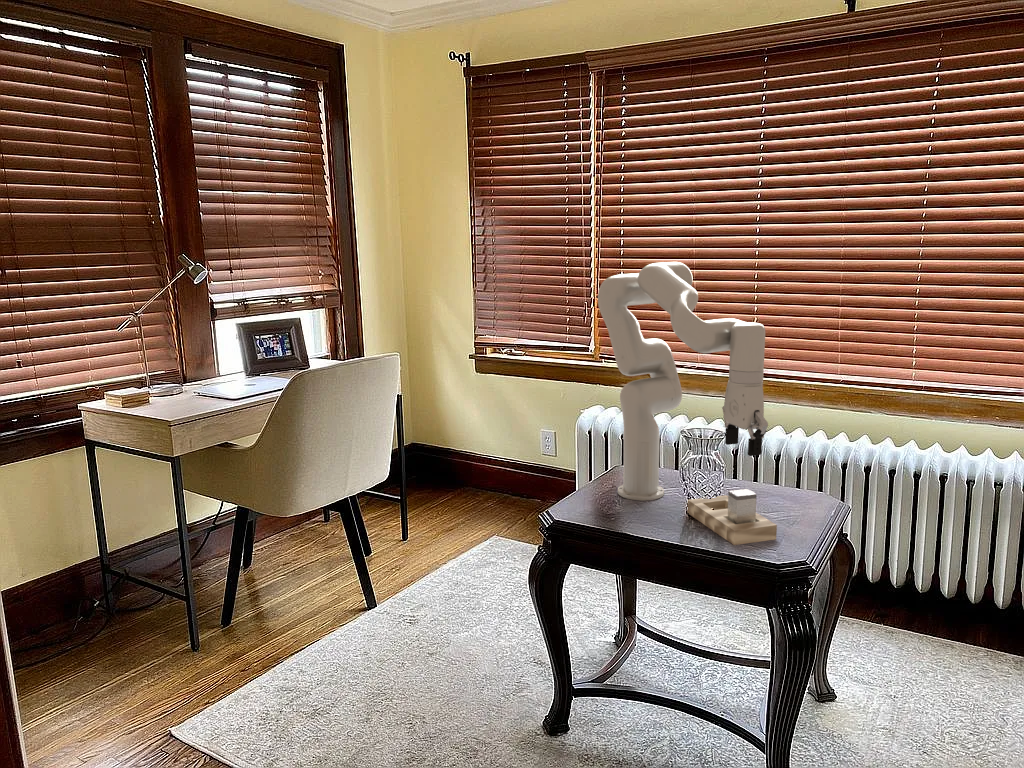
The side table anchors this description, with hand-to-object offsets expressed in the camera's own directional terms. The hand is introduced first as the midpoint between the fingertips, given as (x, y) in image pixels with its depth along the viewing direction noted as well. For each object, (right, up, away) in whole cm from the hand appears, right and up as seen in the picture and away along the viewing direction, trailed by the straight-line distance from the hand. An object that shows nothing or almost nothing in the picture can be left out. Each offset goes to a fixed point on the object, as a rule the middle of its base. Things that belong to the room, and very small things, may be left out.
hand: (742, 449), depth 186 cm
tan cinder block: (-1, -19, +8) cm, 21 cm away
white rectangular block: (+1, -20, +4) cm, 20 cm away
